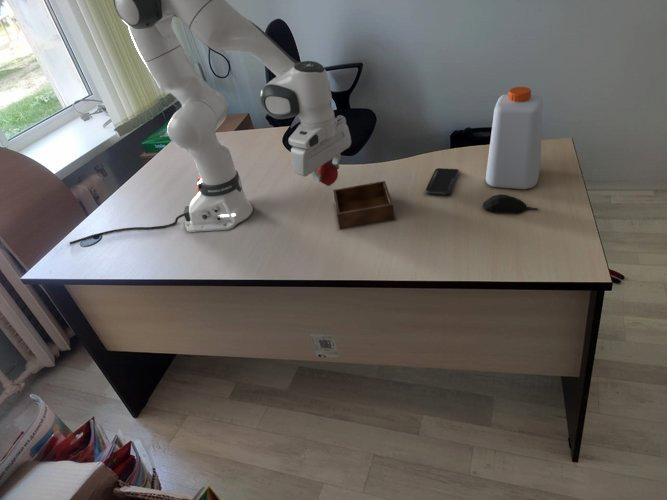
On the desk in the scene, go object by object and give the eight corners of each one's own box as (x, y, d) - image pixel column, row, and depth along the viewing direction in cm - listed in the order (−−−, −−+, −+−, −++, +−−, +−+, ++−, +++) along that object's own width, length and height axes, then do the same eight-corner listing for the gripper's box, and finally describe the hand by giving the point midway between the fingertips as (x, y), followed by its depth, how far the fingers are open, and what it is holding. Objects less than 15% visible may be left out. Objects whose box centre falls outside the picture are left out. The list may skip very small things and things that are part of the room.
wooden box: (339, 229, 142) (336, 214, 139) (335, 204, 154) (333, 189, 150) (394, 219, 142) (393, 204, 138) (386, 195, 153) (384, 180, 150)
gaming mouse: (537, 215, 132) (538, 203, 130) (481, 213, 137) (482, 201, 135) (537, 203, 137) (538, 191, 135) (483, 201, 142) (484, 189, 140)
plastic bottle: (491, 164, 158) (496, 80, 141) (540, 167, 152) (551, 80, 135) (483, 188, 148) (486, 100, 131) (535, 192, 142) (546, 100, 125)
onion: (340, 179, 134) (336, 153, 130) (338, 189, 130) (334, 163, 125) (319, 181, 135) (315, 155, 130) (317, 191, 131) (313, 165, 126)
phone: (425, 191, 149) (436, 167, 160) (425, 194, 150) (436, 170, 160) (450, 193, 146) (459, 169, 157) (450, 196, 147) (459, 172, 157)
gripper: (335, 110, 130) (341, 156, 138) (283, 141, 118) (294, 189, 127) (353, 114, 126) (359, 160, 135) (301, 146, 115) (311, 195, 123)
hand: (327, 175), depth 131 cm, fingers closed on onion, 6 cm apart
